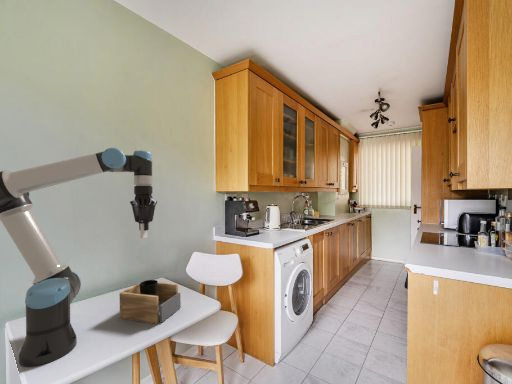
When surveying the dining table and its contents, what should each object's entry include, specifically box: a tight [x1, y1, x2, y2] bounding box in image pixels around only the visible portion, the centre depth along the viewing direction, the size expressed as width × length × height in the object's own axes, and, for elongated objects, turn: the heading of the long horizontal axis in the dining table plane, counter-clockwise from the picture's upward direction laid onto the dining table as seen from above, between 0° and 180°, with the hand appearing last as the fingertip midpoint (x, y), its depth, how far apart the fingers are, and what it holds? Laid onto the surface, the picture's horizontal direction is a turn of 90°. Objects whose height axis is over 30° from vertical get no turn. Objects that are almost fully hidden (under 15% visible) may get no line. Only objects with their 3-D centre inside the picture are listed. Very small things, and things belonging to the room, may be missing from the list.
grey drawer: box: [159, 292, 182, 323], centre depth 110 cm, size 14×18×7 cm
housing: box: [119, 281, 179, 324], centre depth 110 cm, size 15×19×11 cm
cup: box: [138, 279, 159, 296], centre depth 111 cm, size 8×8×12 cm
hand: (144, 237), depth 109 cm, fingers closed
